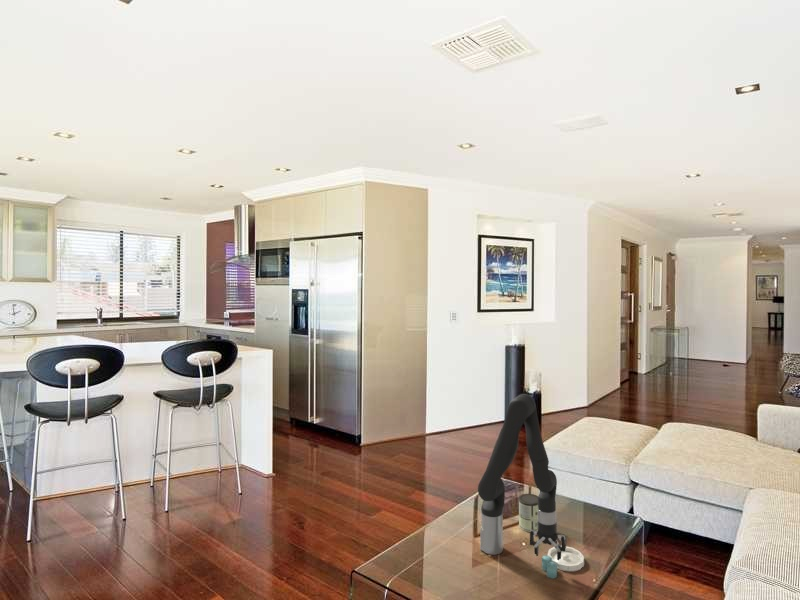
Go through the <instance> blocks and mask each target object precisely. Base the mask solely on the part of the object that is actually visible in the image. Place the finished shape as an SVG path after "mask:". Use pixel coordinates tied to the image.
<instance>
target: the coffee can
mask: <svg viewBox="0 0 800 600" xmlns="http://www.w3.org/2000/svg"><path fill="white" fill-rule="evenodd" d="M538 496H539V495H537V494H533V493H523V494H520V495H519V496H518V520H519V521H518V527H519V529H521V530H522V531H524V532H527V533H528V532H529V533H530V532H531V529H534V531H538Z"/></svg>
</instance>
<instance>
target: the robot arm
mask: <svg viewBox="0 0 800 600" xmlns="http://www.w3.org/2000/svg"><path fill="white" fill-rule="evenodd" d="M523 426H524V428H525V437H526V438H525V442H526V448H527V453H528V456H529V459H530V463H531V466H532V473H533V474H532V475H533V480H534V483H535V486H536V488H537V489H538V491H539V494H538V495H537V496H538V531H534V529H531V532H529V545H530V546H533V547H534V548H533V550H534V554H535V556H536V557H539V553H540V551H539V546H540V545H541V544H542V543H543V544H545V545H546V544H547V545H550V546H553V547H555V548H556V549H557V560H559V559H561V551H565V549H566V546H567V543H566V535H565V534H562V535H561V534H558V529H557V528H558V527H557V526H558V525H557V522H558V521H557V520H558V519H557V511H556V509H557V508H556V493H557V484H558V481H557V479H558V478H557V476H556V473H555V472H554V471H552V470H551V469H549V463H550V462H549V457H548V454H547V451H546V447H545V444H544V441H543V437H542V433H541V429H540V428H541V427H540V422H539V418H538V412H537V405H536V401H535V399H534V398H533V397H532V396H531V395H530V394H528V393H520V394H518V395H517V396H516V397H514V398H512V399H511V400H510V402H509V404H508V406H507V409H506V415H505V416H504V422H503V424H502V427H501V430H500V431H499V433H498V437H497V439H496V441H495V444H494V445H493V446H494V447H493V449H492V452H491V455H490V458H489V460H488V464H487V466H486V469H485V471H484V473H483V475H482V477H481V478H480V481H479V483H478V485H477V493H478V496H479V497H480V499H481V500H483V503H482V504H481V509H480V510H481V511H480V512H481V527H480V531H479V533H480V540H479V541H480V542H479V544H480V545H479V546H480V551H482V552H483V553H485V554H486V555H487V554H488V555H493V556H497V555H499V554H501V553H502V552H503V551H504V550H503V549H504V545H503V544H504V542H503V540H504V535H503V534H504V533H503V530H504V529H503V526H504V525H503V522H504V521H503V510H504V507H505V498H506V496H505V494H506V489H505V483H504V481H503V479H502V477H503V476H504V474H505V472H506V471H507V470H508V469H509V468H510V465H511V464H512V462H513V461H514V459H515V457H516V453H517V452H518V448H519V443H520V437H519V436H520V432H521V429H522V427H523ZM535 536H537V537H538V539H536V541H535ZM558 539H559V541H560V542H561V545H560V543H559V541H558ZM561 546H562V547H561Z"/></svg>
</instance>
